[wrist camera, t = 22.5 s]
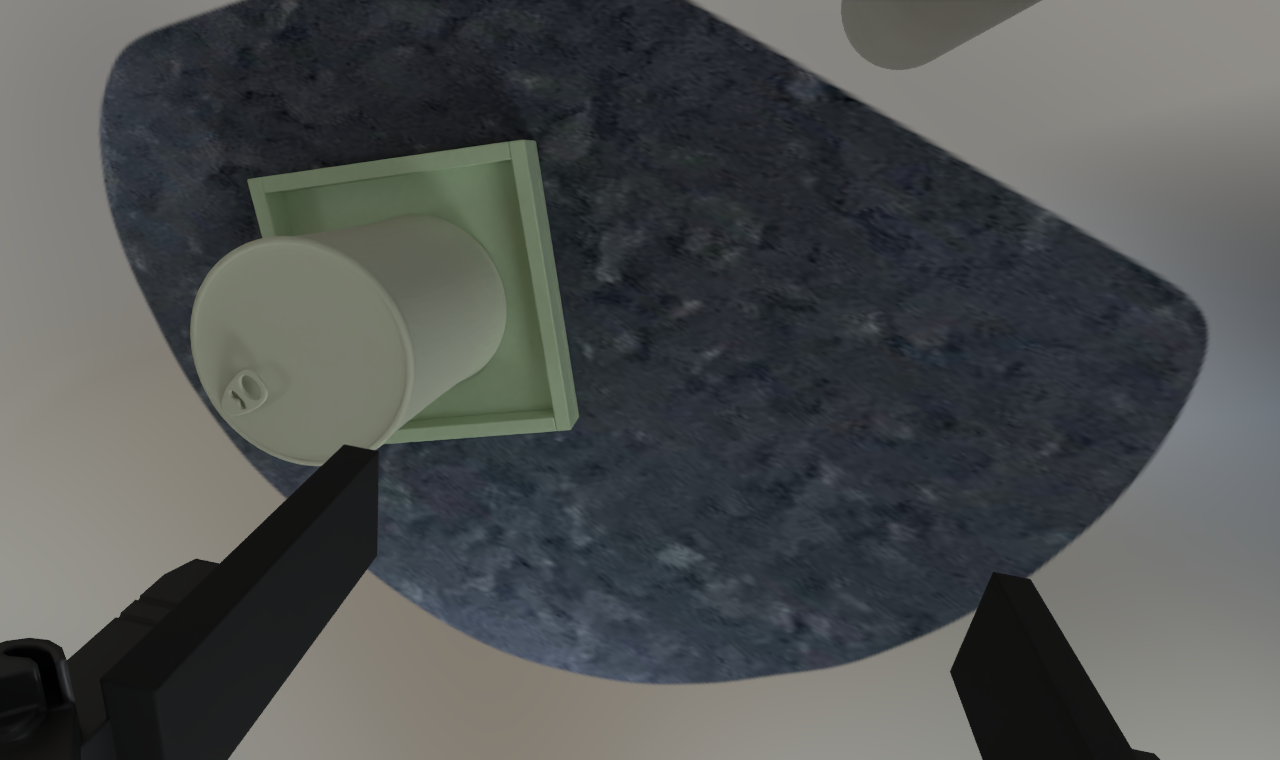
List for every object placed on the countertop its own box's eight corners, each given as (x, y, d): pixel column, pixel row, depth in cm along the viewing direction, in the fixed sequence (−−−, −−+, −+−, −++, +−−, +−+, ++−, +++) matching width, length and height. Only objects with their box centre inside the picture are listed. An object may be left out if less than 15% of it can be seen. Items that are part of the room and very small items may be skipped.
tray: (536, 140, 36) (524, 139, 34) (579, 417, 40) (570, 430, 38) (272, 178, 39) (246, 179, 37) (337, 436, 43) (316, 449, 41)
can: (308, 277, 39) (131, 323, 28) (436, 178, 37) (299, 184, 26) (412, 415, 41) (284, 512, 29) (542, 328, 38) (456, 398, 27)
